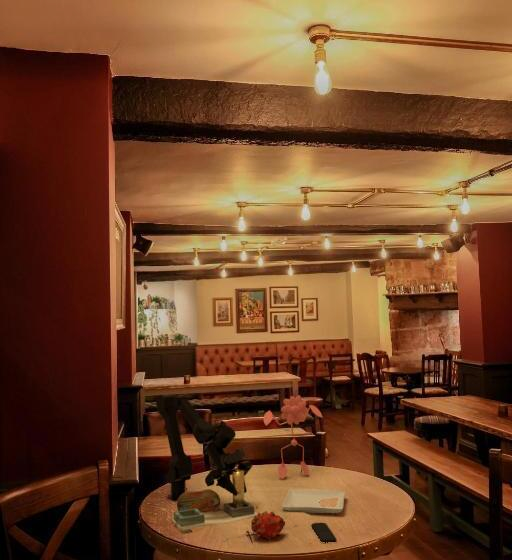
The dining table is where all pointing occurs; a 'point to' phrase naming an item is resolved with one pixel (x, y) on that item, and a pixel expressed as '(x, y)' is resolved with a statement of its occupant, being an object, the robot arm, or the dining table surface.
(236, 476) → the brass peg
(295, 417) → the pink flower figurine
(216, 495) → the brown flat oval piece
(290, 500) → the salad plate
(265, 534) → the dragon fruit
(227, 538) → the dining table surface
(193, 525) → the dock board
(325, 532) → the remote control
